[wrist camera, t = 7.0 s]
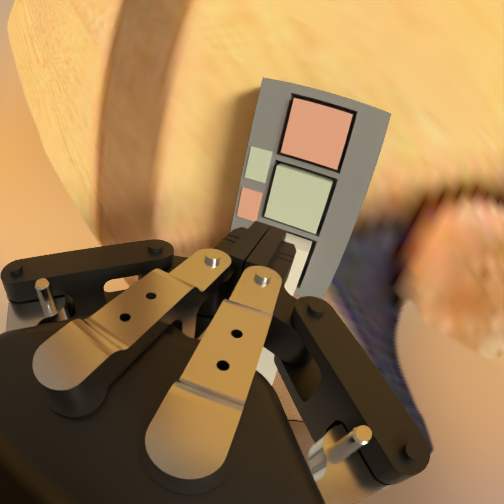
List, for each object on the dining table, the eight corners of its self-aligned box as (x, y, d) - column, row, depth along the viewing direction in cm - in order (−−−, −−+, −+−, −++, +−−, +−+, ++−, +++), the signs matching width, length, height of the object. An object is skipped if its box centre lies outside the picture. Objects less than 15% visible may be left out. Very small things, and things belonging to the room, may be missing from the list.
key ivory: (297, 282, 23) (292, 295, 21) (253, 266, 24) (245, 278, 22) (312, 241, 21) (308, 252, 19) (263, 224, 22) (255, 234, 20)
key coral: (337, 165, 19) (337, 170, 17) (286, 149, 20) (280, 152, 18) (352, 115, 17) (352, 114, 15) (298, 100, 18) (294, 97, 16)
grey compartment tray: (325, 283, 26) (321, 304, 23) (237, 251, 27) (223, 268, 24) (384, 115, 18) (391, 113, 15) (274, 83, 19) (262, 77, 16)
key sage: (318, 224, 22) (315, 233, 20) (271, 208, 22) (264, 216, 21) (333, 177, 20) (332, 183, 18) (283, 161, 20) (277, 165, 19)
